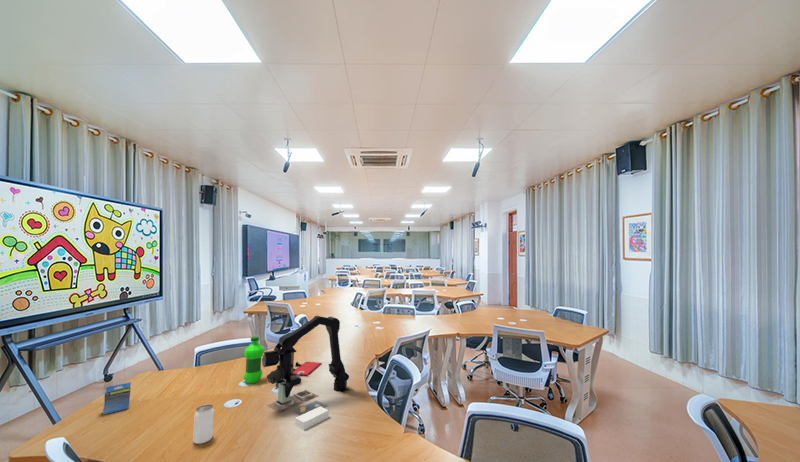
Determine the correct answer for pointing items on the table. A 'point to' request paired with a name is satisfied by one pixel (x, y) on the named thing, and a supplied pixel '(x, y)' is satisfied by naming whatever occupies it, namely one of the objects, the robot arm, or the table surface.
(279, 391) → the peg
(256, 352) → the plastic bottle
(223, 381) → the table surface
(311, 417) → the cover
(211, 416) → the can
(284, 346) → the robot arm
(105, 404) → the label tape box
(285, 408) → the build board
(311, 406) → the board
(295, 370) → the red board with handle
